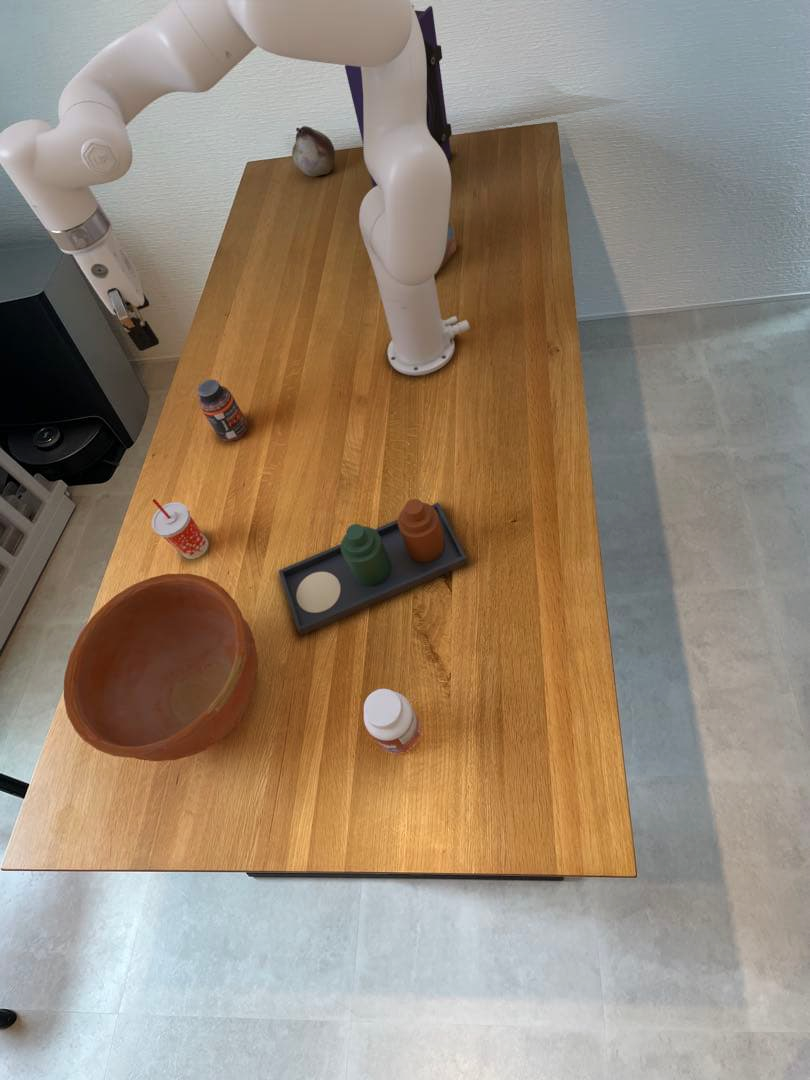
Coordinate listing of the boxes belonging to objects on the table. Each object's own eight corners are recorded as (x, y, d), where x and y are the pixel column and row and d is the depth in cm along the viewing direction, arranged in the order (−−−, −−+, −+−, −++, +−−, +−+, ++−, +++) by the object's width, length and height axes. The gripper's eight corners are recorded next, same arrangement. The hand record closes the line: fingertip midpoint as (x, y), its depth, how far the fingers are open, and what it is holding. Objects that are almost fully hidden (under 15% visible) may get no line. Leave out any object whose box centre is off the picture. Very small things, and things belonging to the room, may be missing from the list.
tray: (440, 509, 109) (438, 502, 107) (468, 563, 103) (466, 557, 101) (282, 576, 108) (278, 570, 106) (301, 636, 102) (297, 630, 100)
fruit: (295, 184, 165) (278, 134, 155) (304, 161, 170) (288, 111, 159) (335, 181, 163) (320, 130, 152) (343, 158, 167) (329, 107, 157)
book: (400, 216, 150) (369, 68, 125) (377, 211, 153) (342, 65, 128) (454, 155, 159) (435, 5, 133) (431, 151, 161) (409, 3, 136)
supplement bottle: (243, 443, 124) (217, 401, 114) (214, 442, 125) (186, 400, 116) (253, 418, 127) (228, 375, 117) (224, 417, 128) (198, 374, 119)
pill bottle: (367, 736, 92) (346, 711, 83) (396, 700, 94) (379, 672, 84) (402, 765, 89) (384, 743, 80) (431, 727, 91) (417, 701, 82)
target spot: (332, 565, 106) (332, 564, 106) (346, 601, 103) (346, 601, 102) (291, 582, 106) (291, 582, 106) (303, 620, 102) (303, 619, 102)
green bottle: (383, 546, 106) (367, 507, 97) (397, 576, 103) (381, 539, 94) (348, 561, 106) (328, 524, 97) (360, 592, 103) (341, 556, 94)
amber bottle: (436, 523, 107) (425, 482, 97) (451, 553, 103) (441, 514, 94) (401, 538, 106) (387, 499, 97) (415, 568, 103) (401, 531, 94)
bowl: (236, 807, 90) (185, 784, 78) (91, 750, 98) (23, 720, 86) (311, 640, 101) (276, 595, 88) (174, 600, 109) (124, 554, 96)
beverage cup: (218, 535, 114) (180, 487, 102) (202, 566, 111) (160, 520, 100) (188, 528, 116) (147, 480, 104) (171, 559, 113) (127, 513, 102)
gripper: (114, 250, 85) (177, 352, 99) (99, 184, 94) (159, 285, 109) (57, 273, 85) (129, 372, 99) (48, 204, 94) (115, 303, 108)
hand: (145, 326), depth 104 cm, fingers open, 9 cm apart
